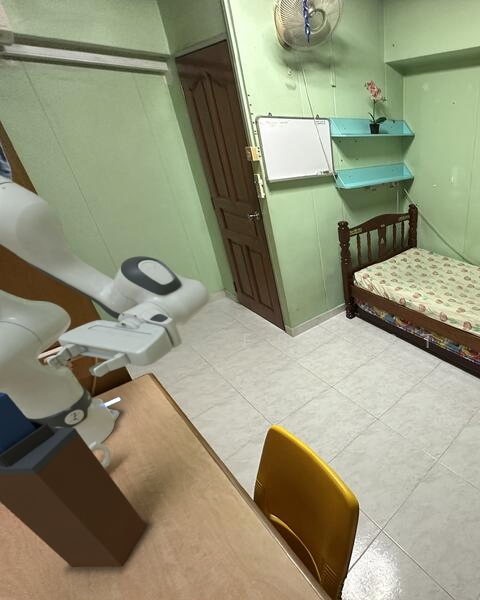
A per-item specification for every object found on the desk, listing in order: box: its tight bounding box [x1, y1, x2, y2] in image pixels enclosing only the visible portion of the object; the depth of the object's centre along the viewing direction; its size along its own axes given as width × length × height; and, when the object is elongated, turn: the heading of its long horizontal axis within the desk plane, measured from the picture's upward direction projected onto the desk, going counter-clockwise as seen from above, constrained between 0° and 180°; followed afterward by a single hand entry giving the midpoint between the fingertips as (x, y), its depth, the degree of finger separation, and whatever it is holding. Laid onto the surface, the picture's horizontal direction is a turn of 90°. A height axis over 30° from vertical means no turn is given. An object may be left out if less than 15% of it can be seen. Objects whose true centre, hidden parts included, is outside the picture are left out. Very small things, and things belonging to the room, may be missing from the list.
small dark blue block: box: [0, 392, 36, 455], centre depth 47 cm, size 2×4×10 cm, turn 168°
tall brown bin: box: [0, 419, 148, 568], centre depth 57 cm, size 10×7×35 cm
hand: (72, 369), depth 55 cm, fingers open, 8 cm apart
